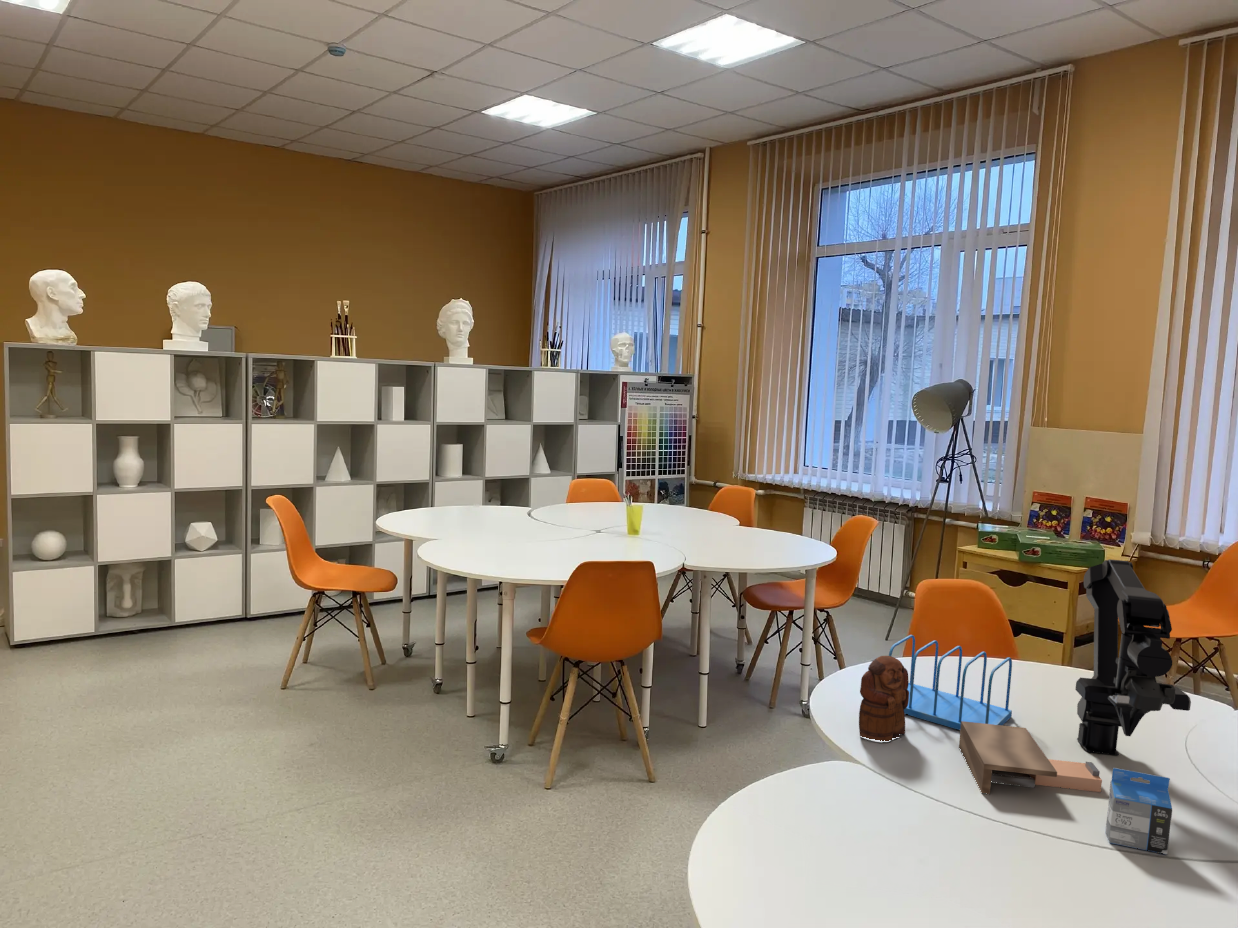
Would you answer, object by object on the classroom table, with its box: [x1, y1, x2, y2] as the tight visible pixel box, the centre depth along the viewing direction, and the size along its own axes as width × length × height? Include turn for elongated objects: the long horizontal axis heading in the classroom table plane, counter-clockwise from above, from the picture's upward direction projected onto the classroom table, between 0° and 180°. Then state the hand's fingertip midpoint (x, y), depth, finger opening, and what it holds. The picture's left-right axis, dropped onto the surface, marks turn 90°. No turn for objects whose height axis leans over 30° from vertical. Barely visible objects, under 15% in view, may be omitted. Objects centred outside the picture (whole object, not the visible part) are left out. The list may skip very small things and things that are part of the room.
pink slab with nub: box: [1028, 758, 1103, 793], centre depth 169 cm, size 12×7×4 cm, turn 80°
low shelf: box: [958, 721, 1057, 795], centre depth 171 cm, size 13×20×6 cm, turn 170°
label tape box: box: [1105, 767, 1173, 855], centre depth 146 cm, size 9×4×12 cm, turn 68°
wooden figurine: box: [858, 655, 910, 741], centre depth 185 cm, size 12×6×18 cm, turn 125°
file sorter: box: [888, 634, 1013, 731], centre depth 200 cm, size 25×17×15 cm
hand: (1127, 735), depth 166 cm, fingers closed
